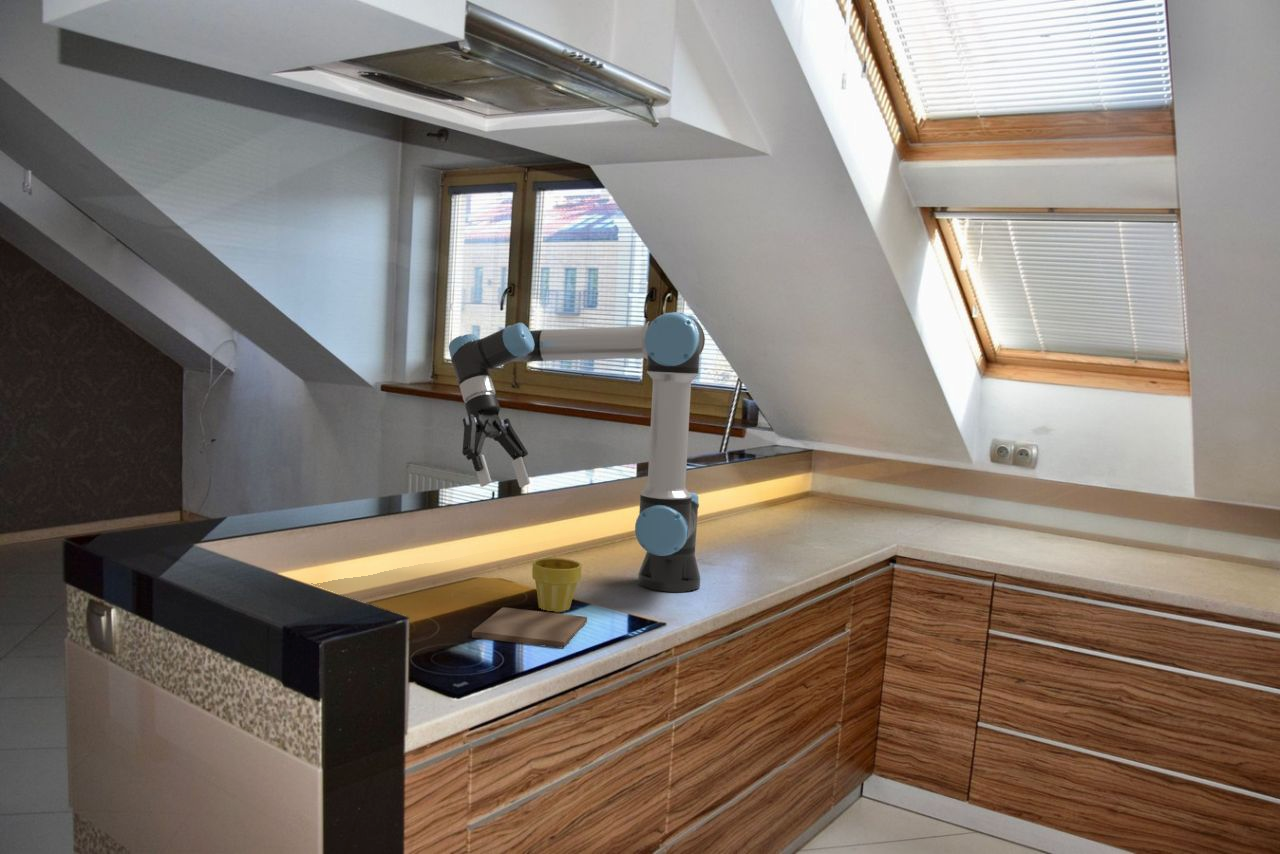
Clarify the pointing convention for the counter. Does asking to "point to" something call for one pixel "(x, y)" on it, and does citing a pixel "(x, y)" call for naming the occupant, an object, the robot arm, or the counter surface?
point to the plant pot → (555, 582)
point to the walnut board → (530, 627)
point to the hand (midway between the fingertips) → (506, 485)
